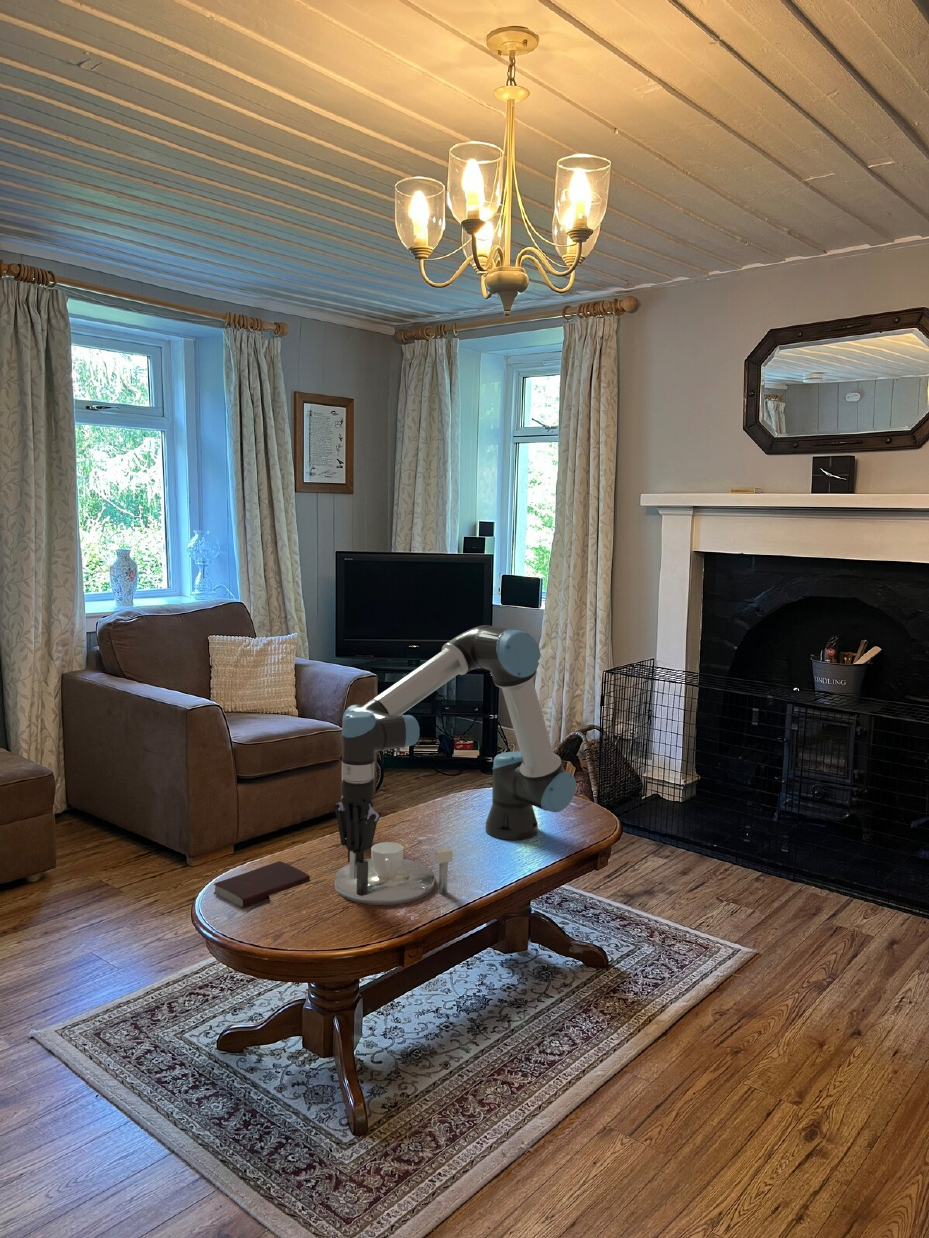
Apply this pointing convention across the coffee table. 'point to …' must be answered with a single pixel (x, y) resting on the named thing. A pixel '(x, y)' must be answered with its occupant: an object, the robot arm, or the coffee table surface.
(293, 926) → the coffee table surface
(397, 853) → the cup
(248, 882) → the book
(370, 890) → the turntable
